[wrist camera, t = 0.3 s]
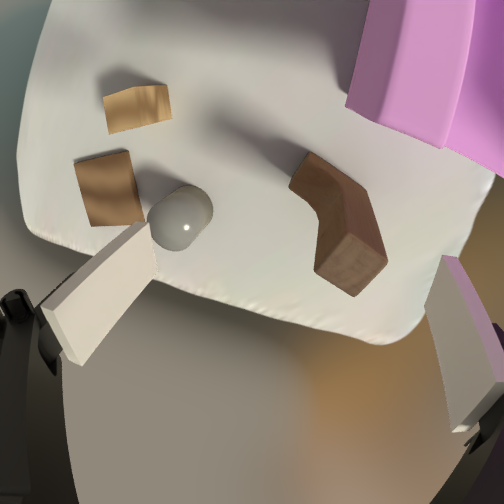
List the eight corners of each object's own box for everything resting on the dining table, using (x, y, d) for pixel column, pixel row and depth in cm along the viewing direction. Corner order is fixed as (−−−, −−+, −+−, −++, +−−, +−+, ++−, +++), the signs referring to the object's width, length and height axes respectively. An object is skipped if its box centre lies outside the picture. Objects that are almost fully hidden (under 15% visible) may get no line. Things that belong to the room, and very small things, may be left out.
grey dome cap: (166, 186, 43) (141, 204, 37) (209, 183, 41) (188, 200, 36) (175, 229, 47) (153, 250, 41) (216, 228, 45) (198, 251, 39)
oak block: (137, 92, 37) (102, 97, 30) (167, 85, 35) (134, 86, 29) (143, 124, 39) (109, 134, 32) (172, 118, 38) (140, 126, 31)
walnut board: (78, 162, 45) (73, 164, 44) (128, 150, 42) (124, 152, 41) (94, 223, 50) (91, 226, 49) (145, 221, 47) (141, 224, 46)
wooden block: (291, 178, 38) (262, 242, 23) (309, 150, 36) (294, 196, 21) (347, 215, 39) (354, 300, 24) (367, 190, 36) (391, 263, 21)
